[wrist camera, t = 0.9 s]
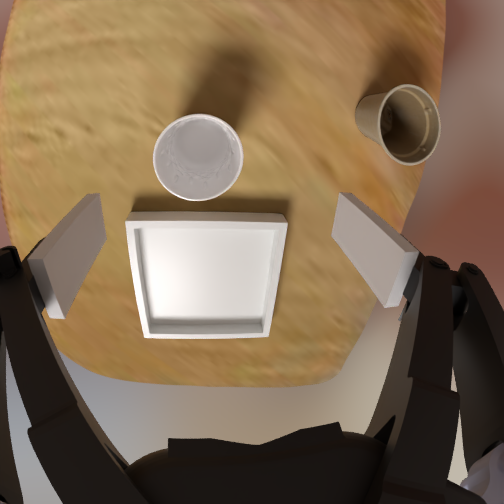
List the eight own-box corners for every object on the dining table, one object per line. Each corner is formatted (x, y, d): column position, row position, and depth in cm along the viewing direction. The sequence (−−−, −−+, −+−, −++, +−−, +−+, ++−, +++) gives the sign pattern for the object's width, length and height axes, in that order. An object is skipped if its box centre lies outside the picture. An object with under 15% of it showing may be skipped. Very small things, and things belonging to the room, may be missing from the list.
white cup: (169, 109, 30) (153, 114, 21) (236, 111, 31) (247, 116, 22) (167, 173, 33) (153, 200, 25) (231, 174, 35) (239, 202, 26)
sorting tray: (130, 211, 35) (125, 221, 33) (282, 213, 38) (287, 222, 36) (146, 324, 45) (144, 337, 42) (265, 324, 48) (268, 336, 46)
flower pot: (329, 107, 32) (362, 112, 24) (378, 70, 30) (418, 70, 22) (366, 162, 36) (402, 181, 29) (410, 125, 34) (450, 137, 27)
